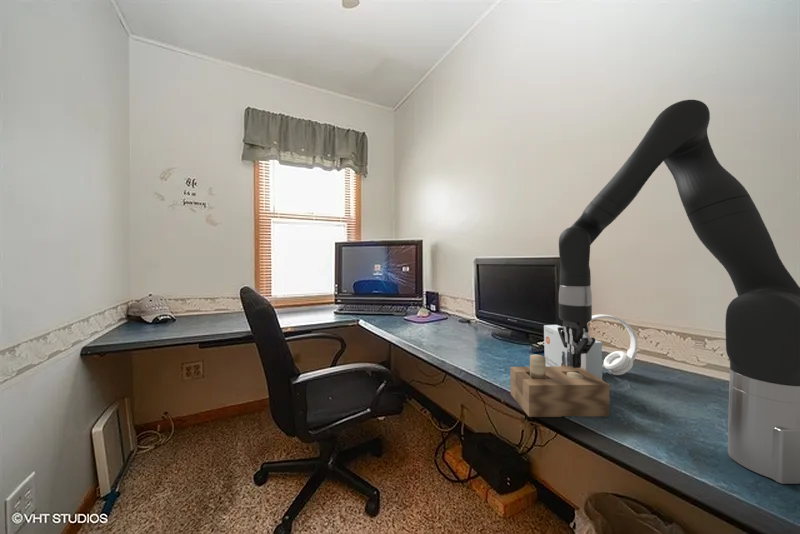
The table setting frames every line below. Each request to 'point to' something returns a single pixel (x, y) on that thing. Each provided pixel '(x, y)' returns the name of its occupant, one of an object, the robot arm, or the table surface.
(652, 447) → the table surface
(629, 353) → the headphones
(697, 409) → the table surface
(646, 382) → the table surface
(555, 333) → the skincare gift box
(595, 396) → the socket board
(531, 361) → the dowel
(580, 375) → the dowel
